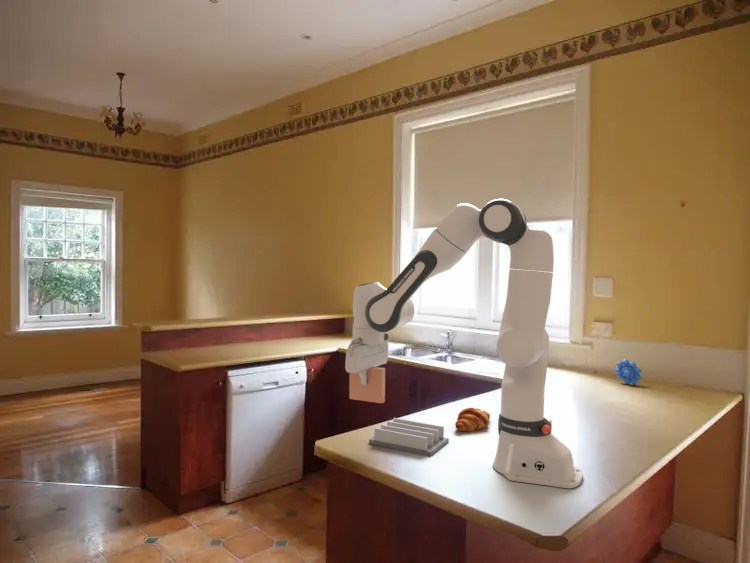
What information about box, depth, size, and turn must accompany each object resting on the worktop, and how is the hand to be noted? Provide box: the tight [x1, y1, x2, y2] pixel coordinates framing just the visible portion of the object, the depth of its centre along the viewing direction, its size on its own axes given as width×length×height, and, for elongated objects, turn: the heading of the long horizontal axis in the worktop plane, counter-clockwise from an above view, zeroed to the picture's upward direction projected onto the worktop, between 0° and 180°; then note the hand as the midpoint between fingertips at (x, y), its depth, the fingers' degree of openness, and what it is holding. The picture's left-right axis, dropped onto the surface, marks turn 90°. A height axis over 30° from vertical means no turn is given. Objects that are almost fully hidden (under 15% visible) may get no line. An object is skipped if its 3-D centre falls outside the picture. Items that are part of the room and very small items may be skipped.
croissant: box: [454, 407, 491, 433], centre depth 177 cm, size 21×10×8 cm, turn 142°
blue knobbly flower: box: [614, 358, 642, 386], centre depth 248 cm, size 12×7×12 cm, turn 54°
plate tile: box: [348, 366, 386, 404], centre depth 156 cm, size 11×2×10 cm, turn 62°
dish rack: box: [368, 417, 449, 457], centre depth 159 cm, size 20×14×5 cm
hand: (367, 383), depth 156 cm, fingers closed on plate tile, 2 cm apart
